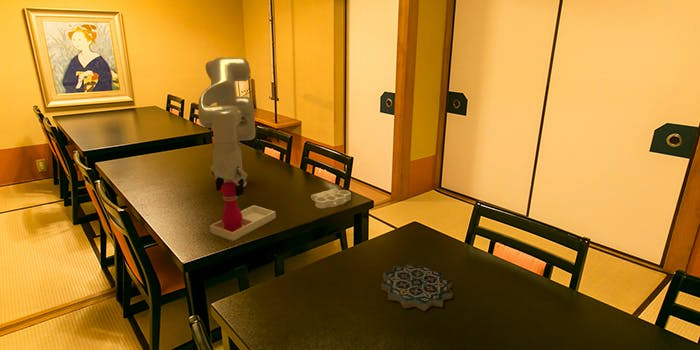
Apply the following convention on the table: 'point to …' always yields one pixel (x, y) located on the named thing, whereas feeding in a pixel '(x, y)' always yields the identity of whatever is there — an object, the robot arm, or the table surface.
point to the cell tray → (245, 222)
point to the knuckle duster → (331, 198)
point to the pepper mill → (231, 207)
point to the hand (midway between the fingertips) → (230, 192)
